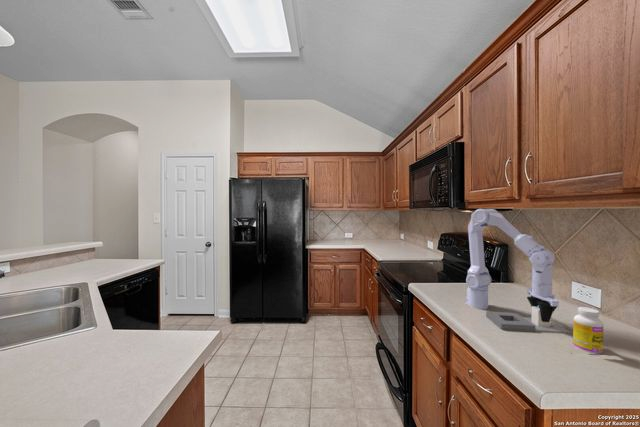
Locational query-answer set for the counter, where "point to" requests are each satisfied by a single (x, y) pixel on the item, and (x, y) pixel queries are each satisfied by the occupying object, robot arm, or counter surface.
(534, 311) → the plug block
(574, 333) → the supplement bottle
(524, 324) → the jack panel
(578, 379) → the counter surface
